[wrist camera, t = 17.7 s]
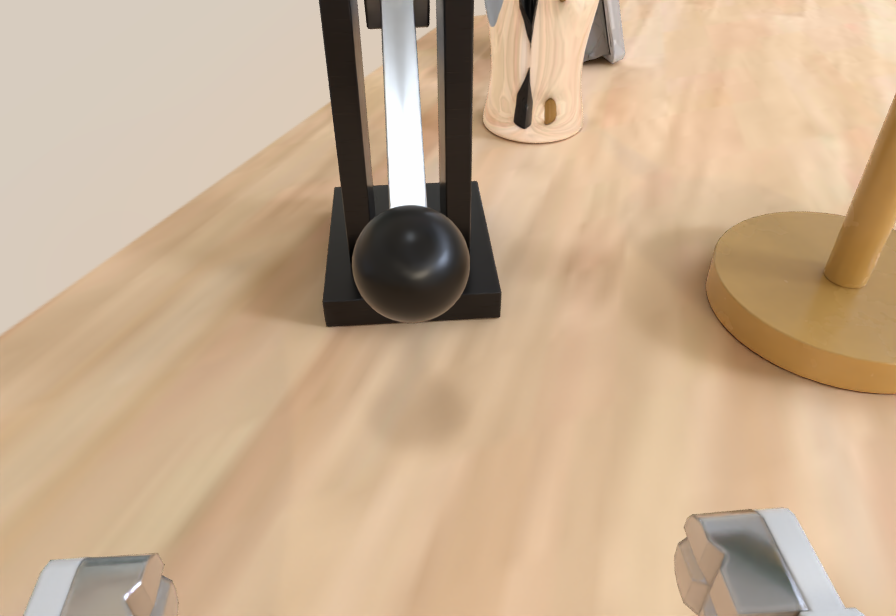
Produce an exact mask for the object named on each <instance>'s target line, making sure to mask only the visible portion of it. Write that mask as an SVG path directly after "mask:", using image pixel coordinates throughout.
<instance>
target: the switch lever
mask: <svg viewBox="0 0 896 616" xmlns="http://www.w3.org/2000/svg"><path fill="white" fill-rule="evenodd" d="M429 3H430V1H429V0H364V4H365V13H366V23H367V27H368V29H382V52H383V75H384V98H385V120H386V143H387V166H388V189H389V209H388V210H386V211H384V212H382V213H380V214H379V215H377V216H376V217H374V218H373V219H372V220H371V221H370V222H369V223H368V224H367V225H366V226H365V228H364V229H363V230H362V232H361V233H360V235H359V237H358V239H357V241H356V244H355V247H354V251H353V256H352V270H353V276H354V281H355V283H356V286H357V288H358V291H359V292H360V294H361V296H362V297H363V299H364V300H365V301H366V302H367V303H368V304H369V305H370V306H371V307H372V308H373V309H374V310H375V311H376V312H378V313H379V314H381V315H383V316H385V317H387V318H389V319H392V320H395V321H399V322H406V323H417V322H423V321H427V320H431V319H433V318H436V317H438V316H440V315H442V314H443V313H445V312H446V311H447V310H449V309H450V308H451V307H452V306H453V305H454V304H455V303H456V301H457V300H458V299H459V298H460V296H461V294H462V293H463V291H464V289H465V287H466V284H467V281H468V277H469V271H470V256H469V251H468V247H467V244H466V241H465V239H464V237H463V235H462V234H461V232H460V230H459V229H458V228H457V227H456V225H455V224H454V223H453V222H452V221H451V220H450V219H449V218H447V217H446V216H445V215H443V214H442V213H440V212H438V211H436V210H434V209H431V208H428V207H427V197H426V182H425V166H424V151H423V135H422V120H421V105H420V89H419V74H418V58H417V43H416V28H418V27H428V26H429V13H430V5H429Z"/></svg>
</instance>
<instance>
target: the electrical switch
mask: <svg viewBox="0 0 896 616" xmlns="http://www.w3.org/2000/svg"><path fill="white" fill-rule="evenodd" d="M624 55H625V48H624V40H623V32H622V23H621V14H620V6H619V0H599V3H598V7H597V10H596V14H595V17H594V20H593V24H592V27H591V31H590V34H589V38H588V42H587V45H586V49H585V54H584V60H583V62H585V61H587V60H592V59H596V58H598V57H600V56H603V57H604V58H605V59H607V60H608V61H609V62H611V63H612V64H613V63H615V62H617V61H619V60H622V59H623V58H624Z"/></svg>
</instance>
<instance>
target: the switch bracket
mask: <svg viewBox="0 0 896 616" xmlns="http://www.w3.org/2000/svg"><path fill="white" fill-rule="evenodd" d="M319 5H320V13H321V22H322V31H323V39H324V47H325V55H326V64H327V73H328V81H329V90H330V98H331V107H332V115H333V123H334V132H335V140H336V149H337V157H338V166H339V174H340V182H341V187H335V188H334V198H333V207H332V217H331V226H330V236H329V245H328V255H327V265H326V274H325V284H324V293H323V308H324V314H325V321H326V326H346V325H365V324H383V323H401V322H399V321H395V320H392V319H389V318H387V317H385V316H383V315H381V314H379V313H378V312H376V311H375V310H374V309H373V308H372V307H371V306H370V305H369V304H368V303H367V302H366V301H365V300H364V299H363V297H362V296H361V294H360V292H359V291H358V288H357V286H356V283H355V281H354V276H353V270H352V256H353V251H354V247H355V244H356V241H357V239H358V237H359V235H360V233H361V232H362V230H363V229H364V228H365V226H366V225H367V224H368V223H369V222H370V221H371V220H372V219H373V218H374V217H376V216H377V215H379V214H380V213H382V212H384V211H386V210H388V209H389V189H388V185H378V186H373V179H372V167H371V156H370V144H369V132H368V121H367V109H366V98H365V86H364V75H363V63H362V51H361V40H360V28H359V16H358V5H357V0H319ZM436 17H437V18H436V19H437V74H438V128H439V183H426V197H427V207H428V208H431V209H434V210H436V211H438V212H440V213H442V214H443V215H445V216H446V217H447V218H449V219H450V220H451V221H452V222H453V223H454V224H455V225H456V227H457V228H458V229H459V230H460V232H461V234H462V235H463V237H464V239H465V241H466V244H467V247H468V251H469V256H470V271H469V277H468V281H467V284H466V287H465V289H464V291H463V293H462V294H461V296H460V298H459V299H458V300H457V301H456V303H455V304H454V305H453V306H452V307H451V308H450V309H449V310H447V311H446V312H445V313H443V314H442V315H440V316H438V317H436V318H433V319H431V320H427V321H438V320H457V319H475V318H494V317H500V310H501V289H500V284H499V279H498V275H497V270H496V266H495V261H494V256H493V252H492V247H491V243H490V238H489V233H488V229H487V224H486V219H485V215H484V210H483V206H482V201H481V196H480V192H479V187H478V183H477V181H471V172H472V100H473V28H474V0H436Z"/></svg>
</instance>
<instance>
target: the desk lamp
mask: <svg viewBox="0 0 896 616" xmlns="http://www.w3.org/2000/svg"><path fill="white" fill-rule="evenodd" d="M895 222H896V94H895V96H894V99H893V101H892V104H891V106H890V109H889V111H888V114H887V116H886V119H885V121H884V123H883V126H882V128H881V131H880V133H879V136H878V138H877V141H876V143H875V146H874V148H873V150H872V153H871V155H870V158H869V160H868V163H867V165H866V168H865V170H864V173H863V175H862V178H861V180H860V182H859V185H858V187H857V190H856V192H855V195H854V197H853V200H852V202H851V205H850V207H849V209H848V212H847V214H846V216H841V215H835V214H828V213H818V212H778V213H772V214H765V215H761V216H757V217H753V218H750V219H748V220H745V221H742V222H740V223H738V224H737V225H735V226H733V227H732V228H730V229H729V230H728V231H726V232H725V234H724V235H723V236H722V237H721V238H720V239H719V241H718V243H717V245H716V246H715V250H714V254H713V257H712V261H711V264H710V268H709V272H708V275H707V279H706V291H707V296H708V300H709V303H710V305H711V307H712V310H713V311H714V313H715V314H716V316H717V318H718V319H719V321H720V322H721V323H722V324H723V325H724V326H725V328H726V329H727V330H728V331H729V332H730V333H731V334H732V335H733V336H734V337H735V338H736V339H738V340H739V341H740V342H741V343H743V344H744V345H745V346H746V347H748V348H749V349H750V350H752V351H753V352H755V353H756V354H758V355H760V356H761V357H763V358H764V359H766V360H768V361H770V362H772V363H773V364H775V365H777V366H779V367H781V368H783V369H785V370H788V371H790V372H792V373H795V374H797V375H799V376H802V377H805V378H808V379H811V380H813V381H816V382H819V383H823V384H827V385H830V386H834V387H838V388H843V389H848V390H854V391H859V392H869V393H878V394H896V230H893V227H894V224H895Z"/></svg>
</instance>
